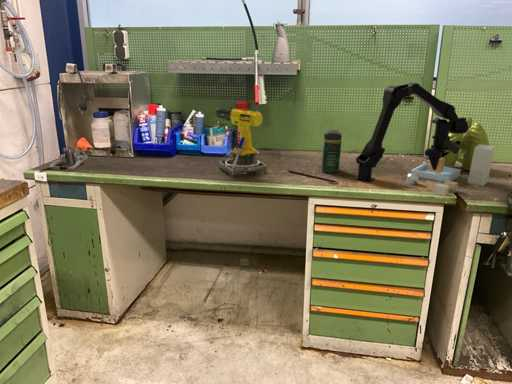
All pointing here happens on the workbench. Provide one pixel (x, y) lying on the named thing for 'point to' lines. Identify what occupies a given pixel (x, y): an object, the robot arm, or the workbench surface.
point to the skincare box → (481, 164)
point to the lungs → (466, 145)
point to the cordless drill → (242, 141)
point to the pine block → (451, 186)
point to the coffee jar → (331, 151)
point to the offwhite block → (441, 189)
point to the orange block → (438, 166)
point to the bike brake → (68, 160)
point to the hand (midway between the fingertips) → (436, 169)
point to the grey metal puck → (412, 178)
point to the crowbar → (314, 177)
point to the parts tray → (444, 176)
